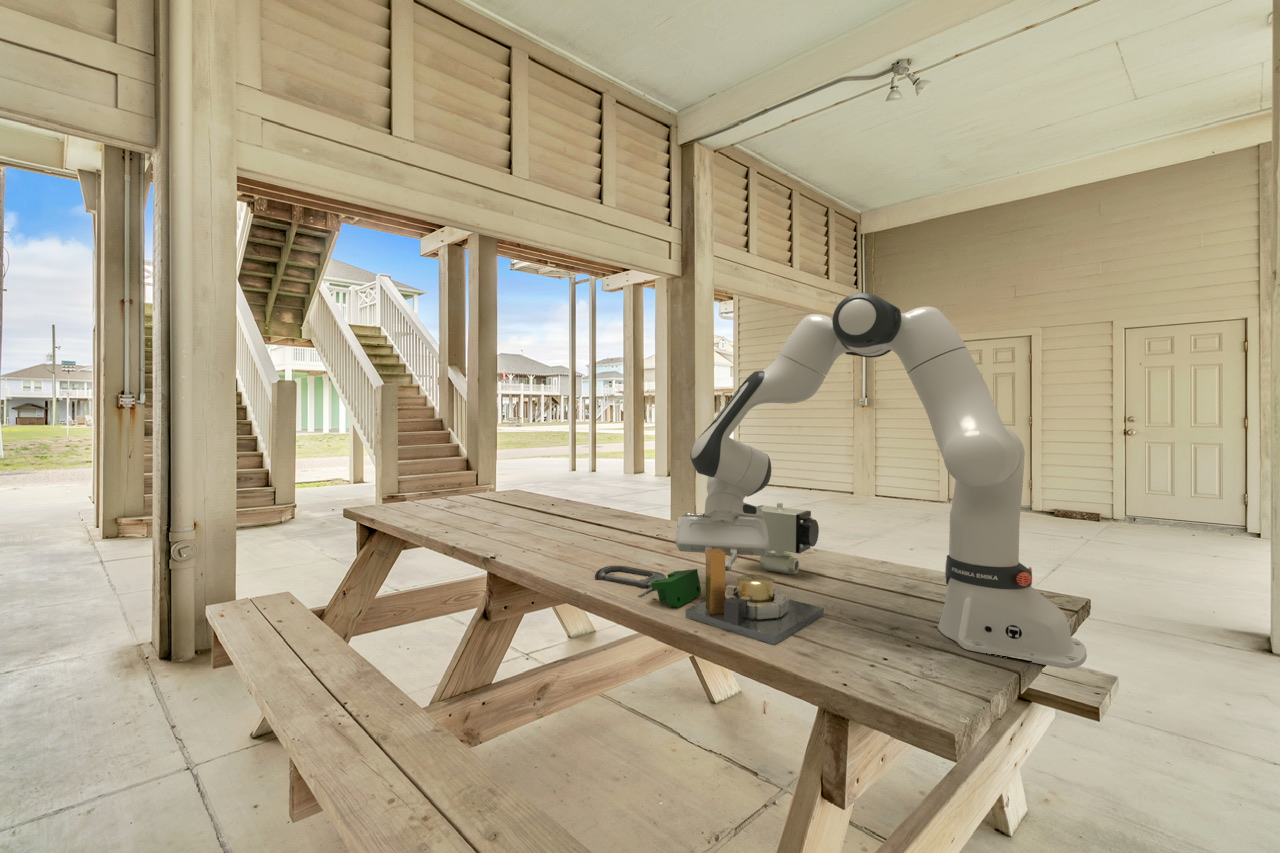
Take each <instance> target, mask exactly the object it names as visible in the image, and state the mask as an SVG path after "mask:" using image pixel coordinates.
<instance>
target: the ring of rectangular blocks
mask: <svg viewBox="0 0 1280 853" xmlns="http://www.w3.org/2000/svg"><path fill="white" fill-rule="evenodd" d="M725 560H726V554H725V552H724V551H723V550H722V549H720V548H719V549H706V555H705V601H706V609H707V610H708V612H709V613H710V614H712V613H724V601H725V600H727V599H729V598H731V597H735V598H738V585H734V584H728V585H726V571H725ZM739 599H744V600H746V617H747V618H751V619H754V618H757V619H767V618H779V616H780V617H782V616H783V615H784V614H785V613H786V612H787V611H788V610H789V599H790V598H789V596H788V595H787V594H785V593H783V592H782V591H780V590H777V588H773V602H765V603H752V602H751V597H746V596H742V597H741V598H739Z"/></svg>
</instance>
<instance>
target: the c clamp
mask: <svg viewBox="0 0 1280 853" xmlns="http://www.w3.org/2000/svg"><path fill="white" fill-rule="evenodd" d="M610 572H611V573H625V574H626V573H627V574H630V573H631V575H636V574H637V575H636V576H643V577H646V578H644V579H642V578H641V579H640V580H638V579H634V578H628V577H624V576H618V575H613V574H610ZM647 576H648V577H647ZM594 578H595V580H596V581H597V580H598V581H602V580H605V581H610V582H615V583H621V584H626V585H629V584H630V585H631V586H635V587H638V588H639V587H640V589H644V588H645V589H646V588H647V590H645V591H643V592H641V593H640V594H638V595H637V596H638V597H641V598H642V596H643V597H644V596H646V595H647V594H648V592H649V593H650V592H651V591H653V590H652V587H651V582H653V581H655V580H660V579H666V578H667V576H666V574H664V573H662V572H658V571H654V570H653V571H652V570H647V569H642V568H639V567H638V568H637V567H632V566H625V565H607V566H604V567H602V568H599V569H597V570H596V572H595V573H594ZM601 579H602V580H601ZM656 591H657V589H656ZM645 594H646V595H645ZM638 597H637V598H638Z"/></svg>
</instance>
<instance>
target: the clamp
mask: <svg viewBox="0 0 1280 853" xmlns="http://www.w3.org/2000/svg"><path fill="white" fill-rule="evenodd" d="M651 587H652V590H651V591H655V590H656V589H657V590H656V591H657V596H658V600H660V601H659V602H667V605H668V607H670V608H675V607H676V608H677V607H681V606H683V605H685V604H688V603H689V602H690V601H692V600H694V599H695V598H697V597H700V595H701V594H702V586H701V582H700V577H699V571H698V569H697V568H695V569H694V568H693V569H685V570H677V571H673V572H670V573H668V574H667V576H666V579H660V580H655V581H653V582H651Z"/></svg>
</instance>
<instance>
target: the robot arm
mask: <svg viewBox="0 0 1280 853" xmlns="http://www.w3.org/2000/svg"><path fill="white" fill-rule="evenodd" d="M890 352H893V353H894V354H895V355H897V357H898V358H899V359H900V362H901V363H902V365H903V367H904V369H905V371H906V374H907V375H908V378H909V379H910V381H911V383H912V385H913V388H914V390H915V391H916V393H917V396H918V399H919V400H920V401H921V403H922V405H923V408H924V410H925V413H926V415H927V418H928V421H929V422H930V428H931V430H932V433H933V436H934V439H935V440H936V443H937V444H936V445H937V447H938V448H939V452H940V454H941V456H942V458H943V462H944V466H945V468H946V470H947V472H948V473H949V475H950V476H951V477H952V478H954V480H955V481H954V483H955V484H954V488H953V495H952V496H953V497H952V503H951V508H950V513H949V539H948V540H949V541H948V542H949V544H948V546H949V547H948V551H949V552H948V554H947V555H946V561H945V566H944V568H945V569H944V570H945V571H944V574H945V583H946V584H945V585H947V586H946V593H945V601H944V605H943V610H942V612H941V617H940V619H939V623H938V624H937V629H938V630H939V632H940V633H941V634H943V635H944V636H945V637H946V638H949V639H951V640H952V641H955V642H956V643H957V644H958V645H959V646H960V647H961V648H962V649H965V650H967V651H972V652H976V653H977V652H978V653H981V654H986V653H987V654H986V655H991V654H997V655H1005V656H1014V657H1022V658H1029V659H1030V660H1032V662H1031V663H1034V664H1040V665H1045V666H1049V667H1055V668H1060V669H1065V670H1067V669H1075V668H1078V667H1080V666H1082V665H1083V664H1084V663H1085V662H1086V660H1087V656H1088V655H1087V647H1086V646H1085V645H1084V643H1083V642H1081V641H1080V640H1079V639H1077V638H1074V637H1072V635H1071V629H1070V624H1069V622H1068V618H1067V616H1066V614H1065V612H1064V611H1063V610H1062V609H1060V607H1058V606H1057V605H1055V604H1054V603H1053V602H1051V601H1050V600H1049V599H1048V598H1046V596H1044V595H1043V594H1041V593H1040V592H1039V591H1037V589H1035V588H1034V587H1032V584H1033V570H1032V567H1031V566H1029V567H1027V566H1025V565H1024V564H1022V563H1020V559H1019V556H1020V553H1019V552H1020V521H1021V520H1020V519H1021V511H1022V510H1021V509H1022V508H1021V507H1022V499H1023V498H1022V497H1023V486H1024V485H1023V484H1024V469H1025V454H1026V453H1025V447H1024V446H1025V445H1024V444H1023V442H1022V440H1021V438H1020V437H1019V436H1018V435H1017V434H1016V433H1015V432H1014V431H1013V430H1012V429H1010V428H1008V427H1005V424H1004V422H1003V421H1002V418H1001V416H1000V415H999V412H998V410H997V407H996V405H995V403H994V401H993V398H992V396H991V394H990V391H989V388H988V385H987V383H986V381H985V379H984V377H983V376H982V374H981V372H980V370H979V367H978V366H977V365H976V362H975V360H974V359H973V356H972V355H971V353H970V351H969V349H968V348H967V345H966V343H965V342H964V340H963V339H962V337H961V336H960V334H959V333H958V330H957V329H956V328H955V327H954V326H953V324H952V323H951V322H950V320H949V319H948V318H947V317H946V316H945V314H944V313H943V312H942V311H941V310H940V309H939V308H936V307H934V306H920V307H916V308H913V309H911V310H909V311H907V312H901V309H900V308H899V307H898V306H896V305H895V304H892V303H891V302H888V300H885V299H884V298H882V297H880V296H878V295H876V294H872V293H868V292H857V293H853V294H851V295H848V296H846V297H845V298H843V299H842V300H841V301H840V302H839V303H838V304H837V306H836V308H835V309H834V312H833V315H832V317H830V316H828V315H825V314H820V313H812V314H808V315H806V316H805V317H803V318H802V319H801V320H800V322H799V323H798V324H797V326H796V327H795V328H793V331H792V332H791V333H790V335H789V336H788V338H787V339H786V340H785V342H784V344H783V346H782V348H781V349H780V351H779V353H778V354H777V356H776V358H775V359H774V360H773V361H772V362H771V363H770V364H769V365H768V366H767V367H765V368H764V369H762V370H755V371H753V372H752V373H751V374H750V375H749V376H748V377H747V378H746V379H745V380H744V381H743V383H741V385H740V386H739V387H738V389H737V390H736V391H735V392H734V394H733V395H732V396H731V398H730V399H729V400H728V401H727V403H725V406H724V407H723V408H722V409H721V410H720V411H719V413H718V415H717V416H716V417H715V418H714V420H713V421H712V423H711V424H710V425H709V426H708V427H707V428H706V429H705V430H704V431H703V432H702V433H701V434H700V435H699V437H698V438H697V439H696V441H695V442H694V444H693V446H692V448H691V451H690V460H691V463H692V465H693V466H692V467H694V469H695V471H696V473H697V474H699V475H703V476H707V481H706V482H707V485H706V490H707V491H706V492H707V496H706V499H705V504H704V513H691V512H685V513H684V514H681V515H680V516H679V517H678V518H677V521H676V523H677V524H676V527H677V532H676V534H675V535H676V536H675V546H676V548H677V550H678V551H679V552H684V553H685V552H687V553H704V554H705V556H706V549H719V548H720V549H722V550H723V551H724V552H725V555H730V557H729V559H725V572H732V565H733V564H734V563H735V561H736V560H738V556H753V557H754V556H755V557H757V556H758V557H761V556H766V555H767V554H768V552H769V539H768V531H767V526H766V523H765V522H764V520H763V512H762V509H761V508H759V507H757V505H753V504H749V503H746V502H744V500H745V498H746V497H751V496H753V495H755V494H758V492H760V491H762V490H763V489H765V488H766V487H767V486H768V484H769V482H770V481H771V476H772V462H771V459H770V456H769V455H768V454H767V453H765V452H763V451H762V450H759V449H757V448H754V447H752V446H750V445H746V444H745V443H742V442H741V441H738V440H735V439H733V438H731V437H730V436H731V435H732V433H734V431H735V430H736V428H737V427H738V425H740V424H741V422H742V420H743V419H744V418H745V417H746V416H747V414H748V413H749V411H751V409H753V408H755V407H756V406H759V405H763V404H786V405H787V404H799V403H801V402H805V401H807V400H809V399H811V398H812V397H813V396H814V395H815V394H816V393H817V392H818V390H819V388H820V387H821V386H822V385H823V383H824V380H825V379H826V378H827V376H828V373H829V372H830V370H831V368H832V366H833V365H834V363H835V361H836V360H837V359H838V358H840V356H841V355H843V354H846V355H850V356H858V357H862V358H868V359H869V358H870V359H871V358H879V357H883V356H885V355H887V354H889V353H890ZM997 655H996V656H997Z"/></svg>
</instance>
